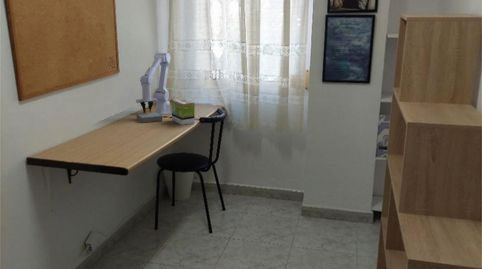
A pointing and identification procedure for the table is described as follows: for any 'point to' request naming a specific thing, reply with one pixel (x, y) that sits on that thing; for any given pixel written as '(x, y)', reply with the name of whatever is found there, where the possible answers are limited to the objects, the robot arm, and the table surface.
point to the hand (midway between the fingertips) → (147, 112)
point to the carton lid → (148, 114)
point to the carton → (149, 119)
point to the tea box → (183, 111)
